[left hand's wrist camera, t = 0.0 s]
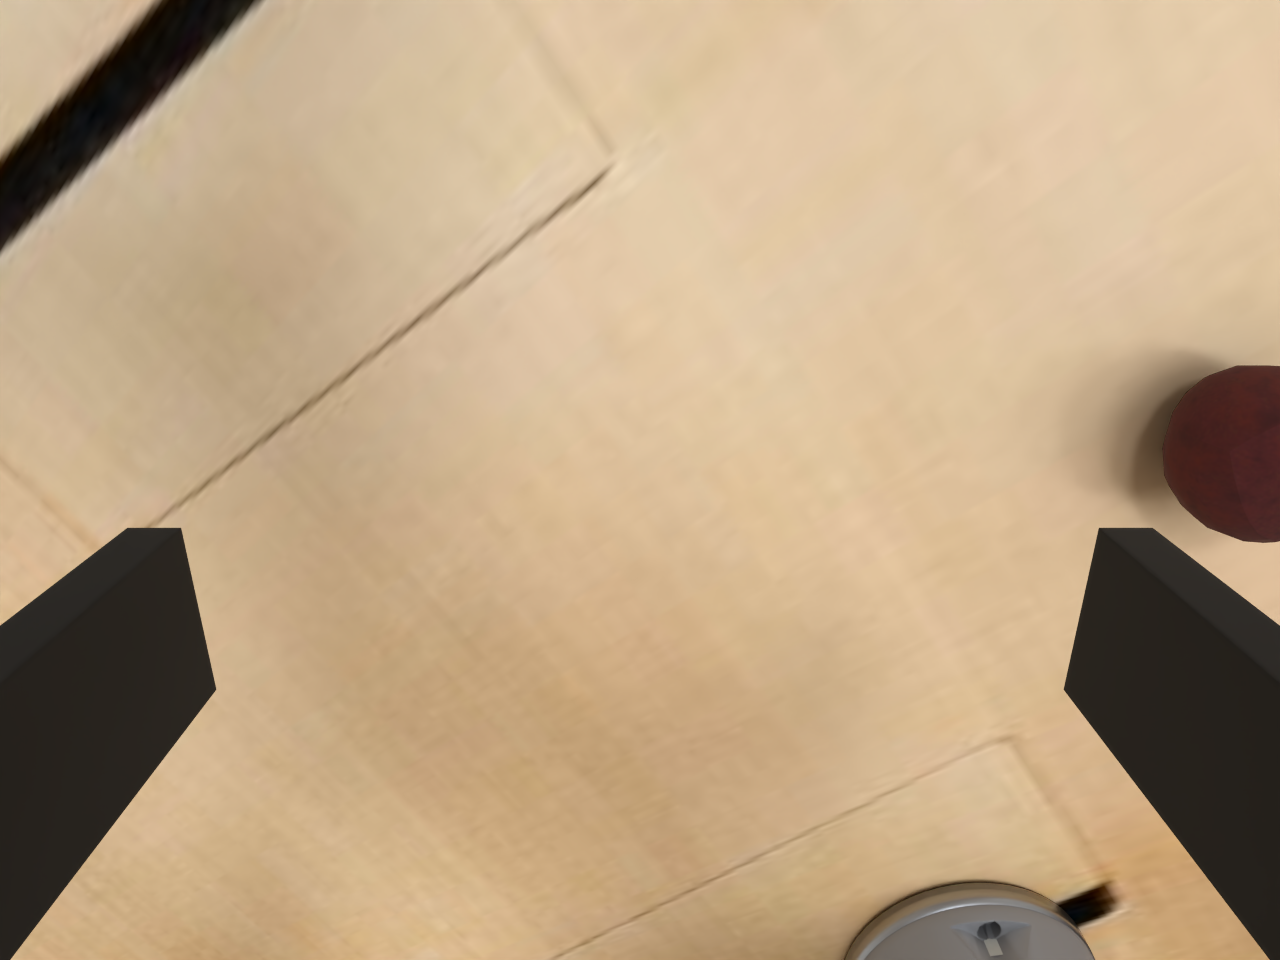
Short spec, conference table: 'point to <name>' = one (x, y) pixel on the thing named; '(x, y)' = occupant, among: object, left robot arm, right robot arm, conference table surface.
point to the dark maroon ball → (1229, 452)
